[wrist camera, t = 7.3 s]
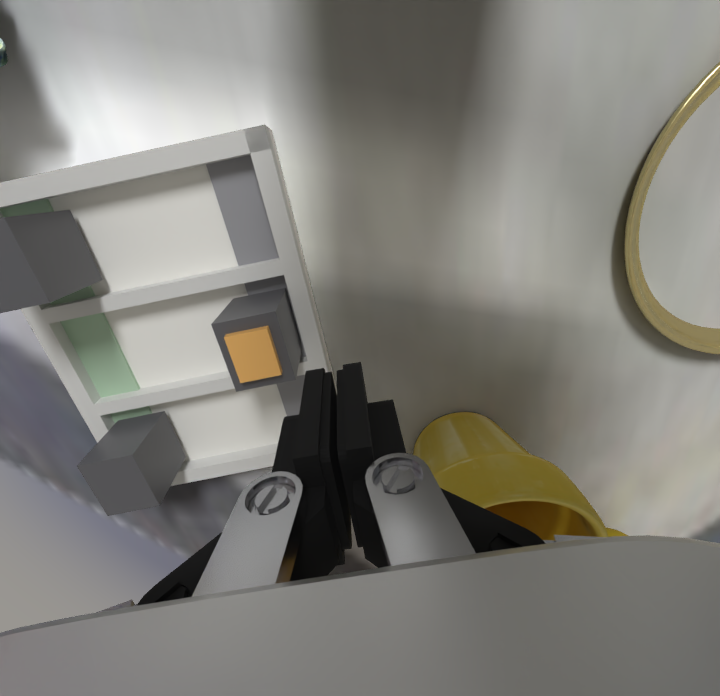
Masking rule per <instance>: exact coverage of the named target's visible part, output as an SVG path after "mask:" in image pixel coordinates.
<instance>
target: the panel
mask: <svg viewBox="0 0 720 696" xmlns="http://www.w3.org/2000/svg"><path fill="white" fill-rule="evenodd" d="M62 210H70V211H71V213H72V215H73V217H74V219H75V221H76V223H77V226H78V228H79V230H80V232H81V234H82V236H83V238H84V240H85V243H86V245H87V247H88V249H89V251H90V253H91V255H92V257H93V260H94V262H95V264H96V266H97V268H98V270H99V272H100V274H101V277H102V279H103V280H101V281H99V282H97V283H94V284H92V285H90V286H87V287H85V288H83V289H81V290H78V291H76V292H74V293H71V294H69V295H67V296H64V297H62V298H60V299H57V300H55V301H53V302H51V303H46V304H41V305H37V306H32V307H27V308H22V309H21V311H22V313H23V314H24V316H25V318H26V319H27V321H28V323H29V325H30V326H31V328H32V330H33V332H34V333H35V335H36V337H37V339H38V340H39V342H40V344H41V346H42V347H43V349H44V351H45V352H46V354H47V356H48V358H49V359H50V361H51V363H52V365H53V366H54V368H55V370H56V372H57V373H58V375H59V377H60V378H61V380H62V382H63V384H64V385H65V387H66V389H67V391H68V392H69V394H70V396H71V398H72V399H73V401H74V403H75V405H76V406H77V408H78V410H79V411H80V413H81V415H82V417H83V418H84V420H85V422H86V424H87V425H88V427H89V429H90V431H91V432H92V434H93V436H94V438H95V439H96V441H97V443H98V442H99V441H100V440H101V439H102V438H103V436H104V435H105V434H106V433H107V432H108V431H109V430H110V429H111V428H112V426H113V425H114V424H115V423H116V422H117V421H118V420H122V419H127V418H132V417H137V416H142V415H147V414H152V413H157V412H162V411H165V413H166V415H167V417H168V419H169V421H170V423H171V425H172V427H173V430H174V432H175V434H176V436H177V438H178V440H179V442H180V444H181V447H182V449H183V451H184V453H185V455H186V458H185V460H184V462H183V464H182V465H181V467H180V469H179V471H178V473H177V475H176V477H175V478H174V480H173V482H172V484H171V486H174V485H179V484H184V483H189V482H194V481H200V480H205V479H210V478H215V477H220V476H225V475H230V474H235V473H240V472H245V471H251V470H256V469H261V468H266V467H271V466H273V465H274V460H275V456H276V451H277V446H278V441H279V437H280V432H281V427H282V423H283V419H284V417H286V416H292V415H298V414H299V411H300V405H301V398H302V392H303V385H304V379H305V372H306V371H308V370H314V369H321V368H324V369H325V372H332V375H333V371H332V367H331V363H330V359H329V355H328V351H327V347H326V343H325V340H324V336H323V332H322V328H321V324H320V320H319V316H318V312H317V308H316V304H315V300H314V296H313V292H312V288H311V284H310V280H309V276H308V272H307V268H306V264H305V260H304V256H303V252H302V248H301V244H300V240H299V236H298V232H297V228H296V224H295V220H294V216H293V212H292V208H291V204H290V200H289V196H288V192H287V188H286V184H285V180H284V176H283V172H282V169H281V165H280V161H279V157H278V153H277V149H276V145H275V141H274V137H273V133H272V130H271V129H270V128H268V127H267V126H266V125H261V126H257V127H252V128H248V129H243V130H238V131H234V132H229V133H225V134H220V135H215V136H211V137H206V138H202V139H197V140H192V141H188V142H183V143H179V144H174V145H170V146H165V147H160V148H156V149H151V150H147V151H142V152H137V153H133V154H128V155H124V156H119V157H114V158H110V159H105V160H101V161H96V162H91V163H87V164H82V165H78V166H73V167H68V168H64V169H59V170H55V171H50V172H46V173H41V174H36V175H32V176H27V177H23V178H18V179H13V180H9V181H4V182H0V218H2V217H10V216H18V215H27V214H36V213H45V212H53V211H62ZM282 288H286V289H287V292H288V296H289V300H290V303H291V307H292V310H293V314H294V318H295V321H296V325H297V328H298V332H299V336H300V339H301V343H302V351H301V356H300V361H299V366H298V371H297V376H296V380H293V381H288V382H283V383H278V384H273V385H268V386H263V387H258V388H253V389H248V390H243V391H238V392H236V390H235V387H234V385H233V382H232V379H231V376H230V374H229V371H228V368H227V366H226V363H225V360H224V358H223V355H222V352H221V350H220V347H219V344H218V342H217V339H216V336H215V334H214V331H213V328H212V326H211V324H212V323H213V322H214V320H215V319H216V318H217V317H218V316H219V315H220V313H221V312H222V311H223V310H224V309H225V308H226V306H227V305H228V304H229V303H230V302H231V301H232V299H233V298H238V297H243V296H248V295H253V294H257V293H262V292H267V291H272V290H277V289H282ZM333 379H334V375H333ZM334 384H335V389H336V394H337V387H336V383H335V379H334Z"/></svg>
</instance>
